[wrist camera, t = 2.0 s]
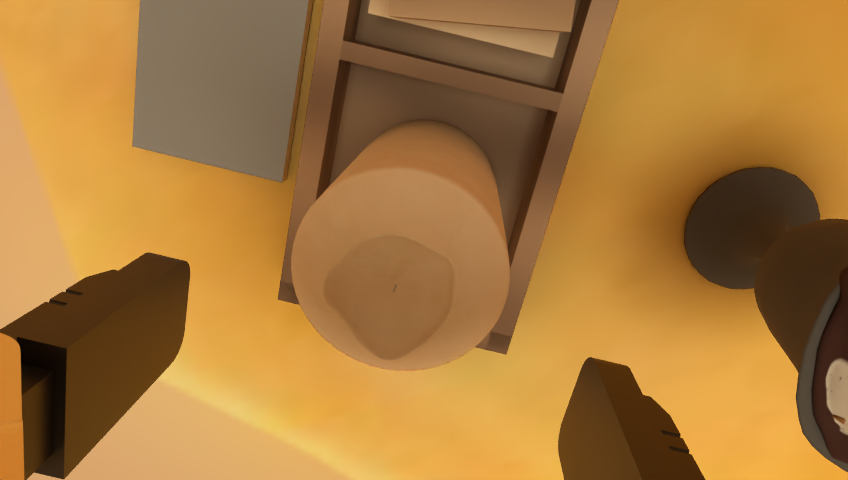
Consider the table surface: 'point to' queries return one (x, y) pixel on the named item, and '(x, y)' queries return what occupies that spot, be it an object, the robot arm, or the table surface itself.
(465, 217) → the candle
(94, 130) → the table surface
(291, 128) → the coaster
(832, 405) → the sundae
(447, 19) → the offcut upper
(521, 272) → the tray
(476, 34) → the offcut lower
